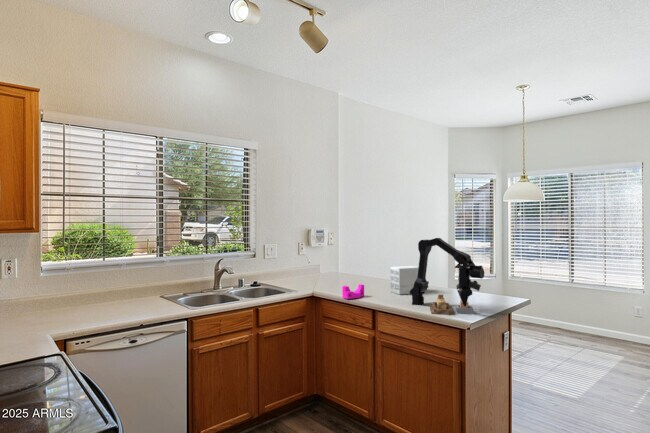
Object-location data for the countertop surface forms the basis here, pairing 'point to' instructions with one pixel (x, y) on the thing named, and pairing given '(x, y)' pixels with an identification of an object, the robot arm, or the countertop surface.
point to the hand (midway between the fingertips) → (464, 304)
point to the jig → (441, 311)
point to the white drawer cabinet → (402, 279)
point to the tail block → (463, 305)
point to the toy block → (350, 294)
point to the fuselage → (441, 302)
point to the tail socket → (464, 310)
